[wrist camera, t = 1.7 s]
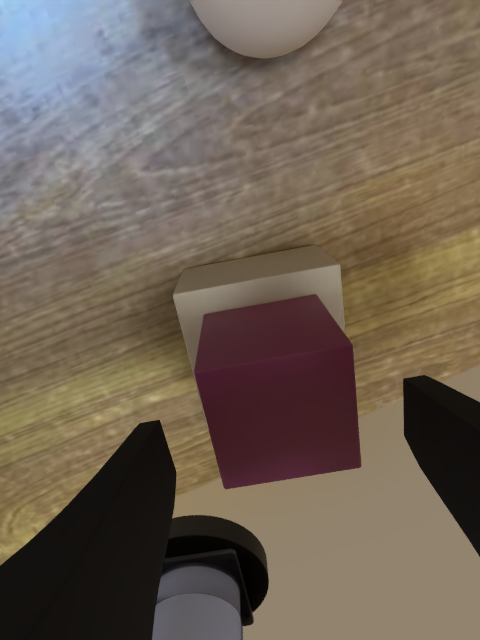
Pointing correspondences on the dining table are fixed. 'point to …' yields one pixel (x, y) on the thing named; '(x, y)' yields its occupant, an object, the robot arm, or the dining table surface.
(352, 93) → the dining table surface
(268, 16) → the egg
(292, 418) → the mulberry block
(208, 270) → the base block
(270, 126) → the dining table surface
